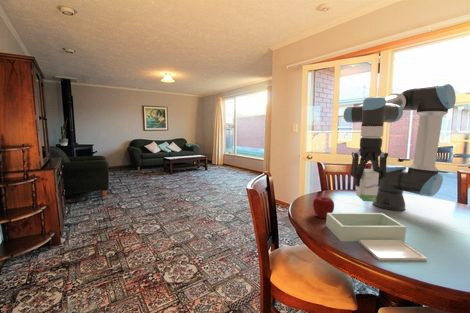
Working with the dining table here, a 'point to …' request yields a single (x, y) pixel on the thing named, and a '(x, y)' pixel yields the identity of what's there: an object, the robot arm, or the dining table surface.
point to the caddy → (364, 226)
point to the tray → (392, 250)
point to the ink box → (369, 185)
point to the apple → (323, 206)
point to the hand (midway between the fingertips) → (366, 193)
